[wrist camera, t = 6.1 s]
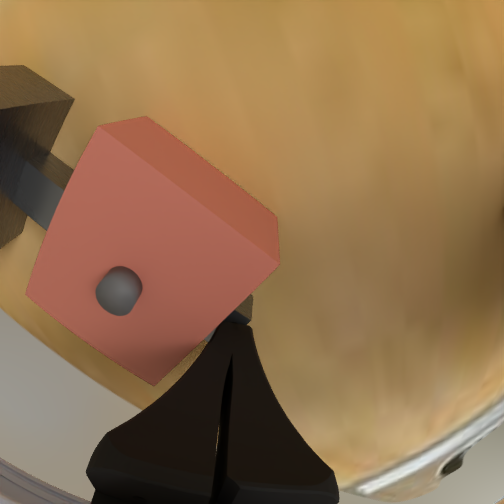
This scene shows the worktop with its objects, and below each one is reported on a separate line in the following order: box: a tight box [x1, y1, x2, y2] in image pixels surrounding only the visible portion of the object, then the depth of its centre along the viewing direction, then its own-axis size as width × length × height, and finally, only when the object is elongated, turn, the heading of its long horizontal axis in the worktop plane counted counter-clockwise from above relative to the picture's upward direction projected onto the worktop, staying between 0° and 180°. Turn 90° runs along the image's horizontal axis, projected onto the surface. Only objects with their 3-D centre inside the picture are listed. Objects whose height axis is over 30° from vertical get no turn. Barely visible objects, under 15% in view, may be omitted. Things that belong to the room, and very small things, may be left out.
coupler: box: [0, 65, 253, 342], centre depth 10 cm, size 14×7×6 cm, turn 53°
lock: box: [25, 116, 280, 386], centre depth 10 cm, size 6×7×4 cm
